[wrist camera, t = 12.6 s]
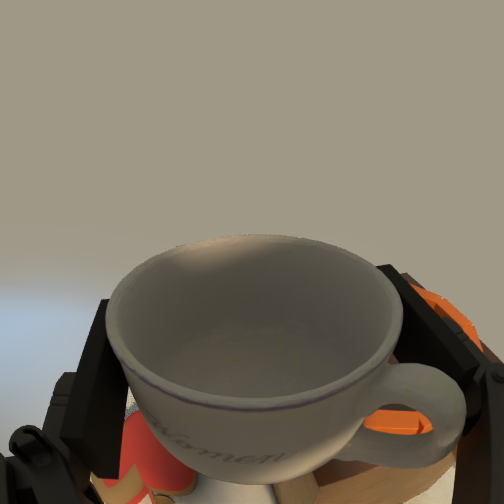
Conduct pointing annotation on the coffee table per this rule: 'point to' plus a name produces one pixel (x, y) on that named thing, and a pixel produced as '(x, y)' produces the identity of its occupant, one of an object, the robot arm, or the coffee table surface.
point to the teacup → (273, 359)
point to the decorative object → (145, 469)
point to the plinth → (366, 471)
